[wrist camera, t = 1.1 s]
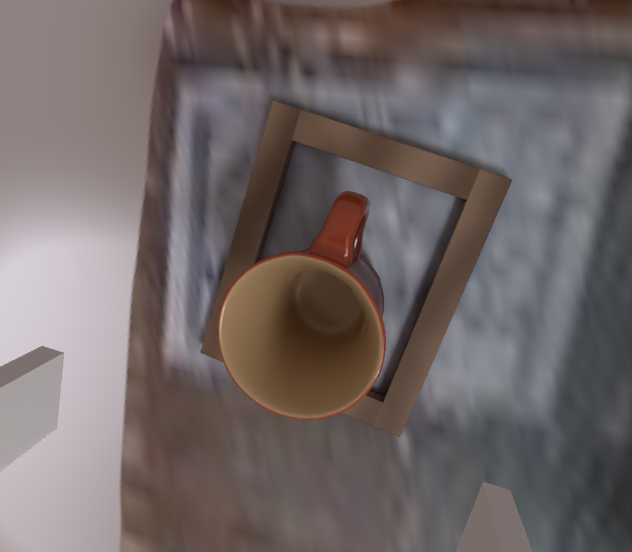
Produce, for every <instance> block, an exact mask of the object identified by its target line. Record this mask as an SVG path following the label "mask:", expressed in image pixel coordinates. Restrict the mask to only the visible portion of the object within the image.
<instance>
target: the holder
mask: <svg viewBox="0 0 632 552" xmlns="http://www.w3.org/2000/svg"><path fill="white" fill-rule="evenodd" d="M295 142H299V143H302V144H305V145H308V146H311V147H313V148H316V149H319V150H322V151H325V152H328V153H331V154H334V155H337V156H340V157H343V158H346V159H348V160H351V161H354V162H357V163H360V164H363V165H366V166H369V167H372V168H375V169H378V170H381V171H383V172H386V173H389V174H392V175H395V176H398V177H401V178H404V179H407V180H410V181H413V182H416V183H418V184H421V185H424V186H427V187H430V188H433V189H436V190H439V191H442V192H445V193H448V194H451V195H453V196H456V197H459V198H462V199H465V203H464V205H463V208H462V210H461V213H460V215H459V217H458V220H457V222H456V225H455V227H454V229H453V232H452V234H451V237H450V239H449V241H448V244H447V246H446V249H445V251H444V254H443V256H442V258H441V261H440V263H439V266H438V268H437V270H436V273H435V275H434V278H433V280H432V283H431V285H430V287H429V290H428V292H427V295H426V297H425V299H424V302H423V304H422V307H421V309H420V311H419V314H418V316H417V319H416V321H415V324H414V326H413V328H412V331H411V333H410V336H409V338H408V340H407V343H406V345H405V348H404V350H403V353H402V355H401V357H400V360H399V362H398V365H397V367H396V369H395V372H394V374H393V377H392V379H391V381H390V384H389V386H388V389H387V391H386V394H385V396H382V395H380V394H377V393H375V392H372V391H370V390H369V392H368V393H367V394H366V395H365V396H364V397H363V398H362V399H361V400H360V401H359V402H358V403H356V404H355V405H354V406H352V407H351V408H349V409H347V410H346V411H344V412H342V413H344V414H346V415H348V416H351V417H353V418H355V419H358V420H360V421H362V422H365V423H367V424H370V425H372V426H374V427H377V428H379V429H381V430H384V431H386V432H388V433H391V434H393V435H395V436H398V437H400V436H401V434H402V431H403V429H404V427H405V425H406V422H407V420H408V418H409V415H410V413H411V411H412V409H413V406H414V404H415V402H416V399H417V397H418V395H419V392H420V390H421V388H422V386H423V383H424V381H425V379H426V376H427V374H428V372H429V370H430V367H431V365H432V363H433V360H434V358H435V356H436V353H437V351H438V349H439V347H440V344H441V342H442V340H443V337H444V335H445V333H446V331H447V328H448V326H449V324H450V321H451V319H452V317H453V314H454V312H455V310H456V308H457V305H458V303H459V301H460V298H461V296H462V294H463V292H464V289H465V287H466V285H467V282H468V280H469V278H470V275H471V273H472V271H473V269H474V266H475V264H476V262H477V259H478V257H479V255H480V252H481V250H482V248H483V246H484V243H485V241H486V239H487V236H488V234H489V232H490V230H491V227H492V225H493V223H494V220H495V218H496V216H497V213H498V211H499V209H500V207H501V204H502V202H503V200H504V197H505V195H506V193H507V191H508V188H509V186H510V184H511V181H512V179H509V178H506V177H503V176H500V175H497V174H494V173H490V172H487V171H484V170H481V169H478V168H475V167H472V166H469V165H466V164H463V163H460V162H457V161H454V160H451V159H448V158H445V157H442V156H439V155H436V154H433V153H430V152H427V151H424V150H421V149H418V148H415V147H412V146H409V145H406V144H403V143H400V142H397V141H394V140H391V139H388V138H385V137H382V136H379V135H376V134H373V133H370V132H367V131H364V130H361V129H358V128H355V127H352V126H349V125H346V124H343V123H340V122H337V121H334V120H331V119H328V118H325V117H322V116H319V115H316V114H313V113H310V112H307V111H304V110H301V109H298V108H295V107H292V106H289V105H286V104H283V103H280V102H277V101H274V100H273V102H272V106H271V109H270V113H269V116H268V120H267V123H266V126H265V130H264V133H263V137H262V140H261V144H260V147H259V151H258V154H257V158H256V161H255V165H254V168H253V172H252V175H251V179H250V182H249V186H248V189H247V192H246V196H245V199H244V203H243V206H242V210H241V213H240V217H239V220H238V224H237V227H236V231H235V234H234V238H233V241H232V245H231V248H230V252H229V255H228V259H227V262H226V265H225V269H224V272H223V276H222V279H221V283H220V286H219V290H218V293H217V297H216V300H215V304H214V307H213V311H212V314H211V318H210V321H209V325H208V328H207V331H206V335H205V338H204V342H203V345H202V349H201V352H200V353H202V354H205V355H207V356H209V357H212V358H214V359H216V360H219V361H221V362H223V359H222V356H221V353H220V349H219V345H218V338H217V323H218V316H219V311H220V307H221V304H222V302H223V299H224V297H225V295H226V293H227V291H228V289H229V288H230V286H231V285H232V284H233V282H234V281H235V280H236V279H237V278H238V277H239V276H240V274H241V273H243V272H244V271H245V270H246V269H247V268H249V267H250V266H252V265H253V264H255V263H257V262H259V259H260V256H261V253H262V249H263V246H264V243H265V240H266V236H267V233H268V230H269V227H270V223H271V220H272V217H273V214H274V210H275V207H276V204H277V200H278V197H279V194H280V191H281V187H282V184H283V181H284V178H285V174H286V171H287V168H288V165H289V161H290V158H291V155H292V152H293V148H294V145H295Z"/></svg>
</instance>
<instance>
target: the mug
mask: <svg viewBox="0 0 632 552" xmlns="http://www.w3.org/2000/svg"><path fill="white" fill-rule="evenodd" d="M369 211H370V201H369V199H368V198H367V197H365V196H363V195H361V194H358V193H356V192H352V191H345V192H343V193H341V194H340V195H339V196H338V197H337V199H336V200H335V202H334V204H333V206H332V208H331V210H330V212H329V215H328V217H327V220H326V222H325V225H324V227H323V229H322V231H321V233H320V234H319V236H318V237H317V238H316V239H315V240H314V242H313V243H312V245H311V247H310V248H309V249H306V250H304V251H302V252H287V253H282V254H278V255H274V256H271V257H268V258H266V259H263V260H261V261H259V262H257V263H255V264H253V265H252V266H250V267H249V268H247V269H246V270H245V271H244V272H243V273H241V274H240V276H239V277H238V278H237V279H236V280H235V281H234V282H233V284H232V285H231V286H230V288H229V289H228V291H227V293H226V295H225V297H224V299H223V302H222V304H221V307H220V311H219V316H218V323H217V338H218V345H219V349H220V353H221V356H222V359H223V362H224V364H225V367H226V369H227V370H228V372H229V374H230V376H231V377H232V379H233V380H234V382H235V383H236V384H237V386H238V387H239V388H240V389H241V390H242V391H243V392H244V393H245V394H246V395H247V396H248V397H249V398H250V399H252V400H253V401H254V402H256V403H257V404H258V405H260V406H262V407H263V408H265V409H267V410H269V411H271V412H273V413H276V414H278V415H281V416H285V417H289V418H294V419H302V420H313V419H322V418H327V417H331V416H334V415H337V414H339V413H342V412H344V411H346V410H347V409H349V408H351V407H352V406H354V405H355V404H356V403H358V402H359V401H360V400H361V399H362V398H363V397H364V396H365V395H366V394H367V393H368V392H369V390H370V389H371V388H372V386H373V385H374V383H375V382H376V380H377V378H378V376H379V374H380V371H381V368H382V366H383V361H384V357H385V350H386V337H385V328H384V323H383V320H382V316H383V312H384V295H383V290H382V286H381V282H380V278H379V276H378V274H377V273H376V271H375V270H374V268H373V267H372V266H371V264H370V263H369V262H368V261H367V260H366V259H365V258H364V257H362V256H361V255H360V253H361V248H362V238H363V231H364V228H365V224H366V221H367V218H368V215H369Z"/></svg>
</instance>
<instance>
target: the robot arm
mask: <svg viewBox="0 0 632 552" xmlns="http://www.w3.org/2000/svg"><path fill="white" fill-rule="evenodd" d="M63 358H64V353H63V352H59V351H57V350H53V349H50V348H47V347H44V346H41V347H39V348H37V349H35V350H33V351H31V352H29V353H27V354H25V355H23V356H21V357H19V358H17V359H15V360H13V361H11V362H9V363H7V364H5V365H3V366H1V367H0V471H1V470H3V469H4V468H5V467H6V466H8V465H9V464H10V463H12V462H13V461H14V460H16V459H17V458H18V457H20V456H21V455H22V454H24V453H25V452H26V451H27V450H29V449H30V448H31V447H33V446H34V445H35V444H37V443H38V442H39V441H41V440H42V439H43V438H45V437H46V436H47V435H48V434H50V433H51V432H52V431H53V430H55V429H56V428H57V421H58V410H59V400H60V390H61V379H62V368H63ZM456 552H532V549H531V547H530V544H529V541H528V538H527V536H526V533H525V530H524V527H523V524H522V522H521V519H520V516H519V513H518V510H517V508H516V505H515V502H514V499H513V497H512V494H511V491H510V490H508V489H504V488H501V487H498V486H495V485H491V484H488V483H485V482H483V483H482V486H481V488H480V491H479V493H478V496H477V499H476V501H475V504H474V506H473V509H472V511H471V514H470V517H469V519H468V522H467V524H466V527H465V529H464V532H463V535H462V537H461V540H460V542H459V545H458V548H457V550H456Z"/></svg>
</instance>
